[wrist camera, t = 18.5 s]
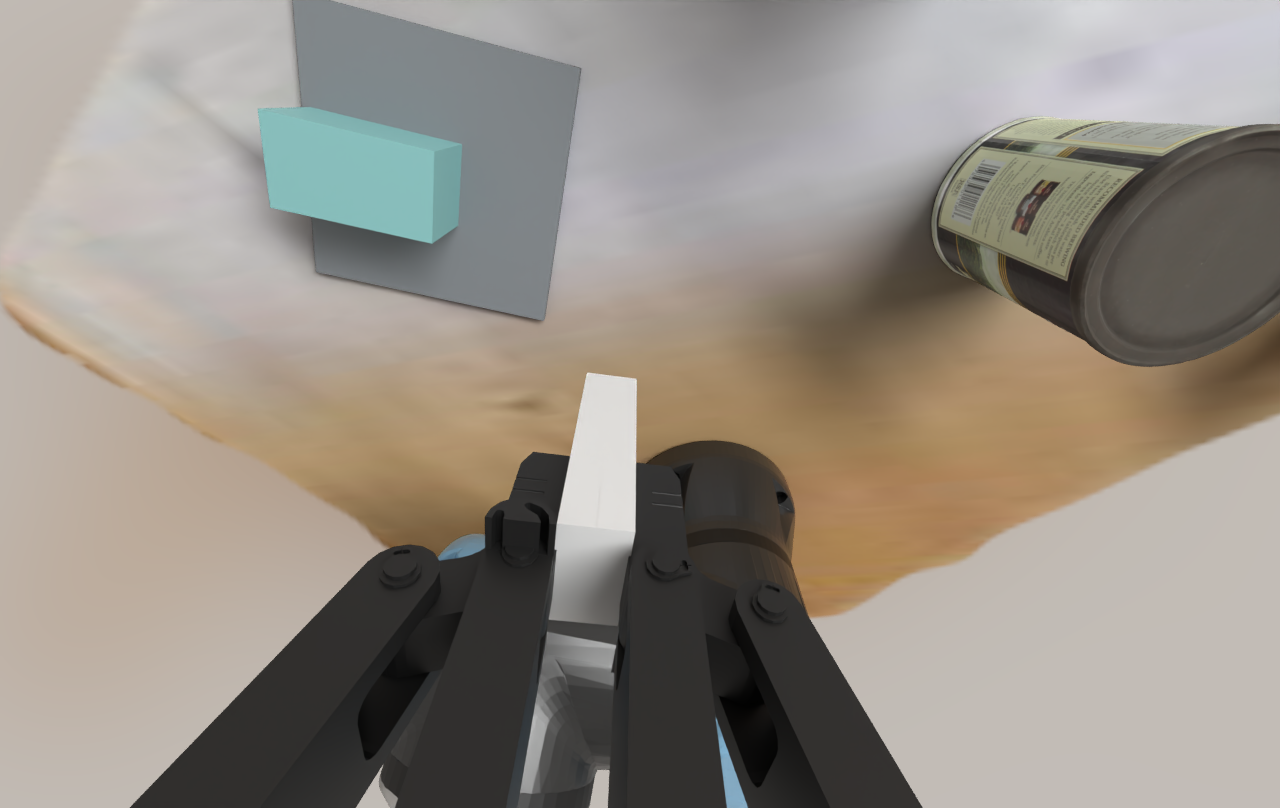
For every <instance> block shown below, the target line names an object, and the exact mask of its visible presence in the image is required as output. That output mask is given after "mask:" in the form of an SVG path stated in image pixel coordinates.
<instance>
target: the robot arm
mask: <svg viewBox="0 0 1280 808" xmlns="http://www.w3.org/2000/svg"><path fill="white" fill-rule="evenodd" d="M636 398H637V379H633V378H625V377H617V376H610V375H602V374H594V373H587V376H586V381H585V386H584V391H583V395H582V400H581V405H580V410H579V415H578V420H577V425H576V430H575V435H574V440H573V445H572V450H571V455H570V456H563V455H555V454H546V453H538V452H533V453H532V454H531V455H529V456H528V457H527V458H526V459H525V460H524V461H523V462H522V463H521V465H520V468H519V471H518V474H517V477H516V480H515V483H514V486H513V490H512V492H511V495H510V498H509V500H506V501H502V502H500V503H498V504H497V505H495V506H494V507H492V508H491V509H490V510H489V512H488V513H487V515H486V516H485V534H469V535H465V536H462V537H460V538H458V539H456V540H455V541H453V542H452V543H451V544H449V545H448V546H447V547H446V548H445V549H444V550H443V551H442V553H441V554H440V555H439V556H438V557H436V555H435V554H434V552H432V551H430V550H428V549H426V548H425V547H422V546H415V545H403V546H396V547H392V548H390V549H387V550H385V551H383V552H380V553H379V554H377V555H376V556H375V557H373V558H372V559H371V560H370V561H368V562H367V563H366V564H365V565H364V566H363V567H362V568H361V569H360V570H359V571H358V572H357V573H356V574H355V575H354V576H353V578H352V579H351V580H350V581H349V582H348V583H347V584H346V585H345V586H344V587H343V588H342V589H341V590H340V591H339V592H338V593H337V594H336V595H335V596H334V597H333V598H332V599H331V600H330V601H329V602H328V603H327V604H326V605H325V607H323V608H322V610H321V611H320V612H319V613H318V614H317V615H316V616H315V617H314V618H313V619H312V620H311V621H310V622H309V623H308V624H307V625H306V626H305V627H304V628H303V629H302V630H301V631H300V632H299V633H298V634H297V636H295V637H294V639H292V641H291V642H290V643H289V644H288V645H287V646H286V647H285V648H284V649H283V650H282V651H281V652H280V653H279V654H278V655H277V656H276V657H275V658H274V659H273V660H272V661H271V662H270V663H269V664H268V665H267V666H266V667H265V668H264V670H263V671H262V672H261V673H260V674H259V675H258V676H257V677H256V678H255V679H254V680H253V681H252V682H251V683H250V684H249V685H248V686H247V687H246V688H245V689H244V690H243V691H242V692H241V693H240V694H239V695H238V696H237V697H236V698H235V700H233V701H232V702H231V704H230V705H229V706H228V707H227V708H226V709H225V710H224V711H223V712H222V713H221V714H220V715H219V716H218V717H217V718H216V719H215V720H214V721H213V722H212V723H211V724H210V725H209V726H208V727H207V728H206V729H205V730H204V731H203V733H201V735H200V736H199V737H198V738H197V739H196V740H195V741H194V742H193V743H192V744H191V745H190V746H189V747H188V748H187V749H186V750H185V751H184V752H183V753H182V754H181V755H180V756H179V757H178V758H177V759H176V760H175V761H174V763H172V764H171V766H170V767H169V768H168V769H167V770H166V771H165V772H164V773H163V774H162V775H161V776H160V777H159V778H158V779H157V780H156V781H155V782H154V783H153V784H152V785H151V786H150V787H149V789H147V790H146V791H145V792H144V794H143V795H141V796H140V798H139V799H138V800H137V801H136V802H135V803H134V804H133V805H132V806H131V807H130V808H356V806H357V805H358V803H359V802H360V800H361V798H362V797H363V795H364V794H365V792H366V790H367V789H368V787H369V786H370V784H371V783H372V781H373V779H374V778H375V776H376V775H377V773H378V771H379V770H380V768H381V767H382V765H383V768H382V771H381V774H380V778H379V787H380V790H381V792H382V794H383V796H384V797H385V799H386V801H387V803H388V805H389V807H390V808H589V806H590V800H591V794H592V789H593V783H594V778H595V774H596V772H597V770H610V775H609V796H608V808H922V806H921V804H920V803H919V801H918V799H917V798H916V796H915V794H914V793H913V791H912V789H911V788H910V786H909V784H908V783H907V781H906V779H905V778H904V776H903V774H902V773H901V771H900V769H899V768H898V766H897V764H896V762H895V761H894V759H893V757H892V756H891V754H890V753H889V751H888V749H887V747H886V746H885V744H884V742H883V741H882V739H881V737H880V736H879V734H878V732H877V731H876V729H875V727H874V726H873V724H872V723H871V721H870V719H869V717H868V716H867V714H866V712H865V711H864V709H863V707H862V706H861V704H860V702H859V701H858V699H857V697H856V696H855V694H854V692H853V691H852V689H851V687H850V686H849V684H848V682H847V680H846V679H845V677H844V676H843V674H842V672H841V670H840V669H839V667H838V665H837V664H836V662H835V660H834V659H833V657H832V655H831V654H830V652H829V650H828V649H827V647H826V645H825V644H824V642H823V640H822V639H821V637H820V635H819V634H818V632H817V631H816V629H815V627H814V625H813V624H812V622H811V620H810V619H809V616H808V613H807V610H806V607H805V604H804V601H803V598H802V595H801V591H800V588H799V585H798V582H797V579H796V577H795V573H794V570H793V567H792V564H791V558H792V547H793V537H794V526H795V508H794V502H793V499H792V496H791V493H790V490H789V488H788V485H787V482H786V480H785V478H784V476H783V474H782V473H781V471H780V470H779V469H778V467H777V466H776V465H775V464H774V463H773V462H772V461H771V460H769V459H768V458H767V457H766V456H764V455H763V454H761V453H759V452H757V451H756V450H753V449H751V448H749V447H746V446H743V445H740V444H736V443H731V442H724V441H700V442H693V443H688V444H684V445H681V446H678V447H675V448H672V449H670V450H667V451H665V452H663V453H661V454H660V455H658V456H656V457H655V458H653V459H652V460H651V461H649V462H648V463H647V464H643V463H636Z"/></svg>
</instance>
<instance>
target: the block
mask: <svg viewBox="0 0 1280 808" xmlns="http://www.w3.org/2000/svg"><path fill="white" fill-rule="evenodd" d="M258 115H259V123H260V131H261V139H262V146H263V154H264V162H265V170H266V178H267V186H268V194H269V202H270V208H274V209H279V210H283V211H288V212H292V213H297V214H301V215H306V216H310V217H315V218H319V219H324V220H328V221H333V222H337V223H342V224H346V225H350V226H355V227H359V228H364V229H368V230H373V231H377V232H382V233H386V234H391V235H395V236H400V237H404V238H409V239H413V240H418V241H422V242H427V243H431V244H432V243H434V242H435V241H437V240H438V239H440V238H441V237H442V236H444V235H445V234H447V233H448V232H450V231H451V230H453V229H454V228H455V227H457V226H458V220H459V199H460V178H461V158H462V144H459V143H455V142H451V141H447V140H443V139H439V138H435V137H431V136H427V135H423V134H419V133H415V132H410V131H406V130H402V129H398V128H394V127H390V126H386V125H382V124H378V123H374V122H370V121H366V120H361V119H357V118H353V117H349V116H345V115H341V114H337V113H333V112H329V111H325V110H321V109H317V108H312V107H296V108H263V109H258Z"/></svg>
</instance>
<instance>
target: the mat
mask: <svg viewBox="0 0 1280 808" xmlns="http://www.w3.org/2000/svg"><path fill="white" fill-rule="evenodd" d="M292 1H293V12H294V24H295V35H296V47H297V58H298V70H299V81H300V93H301V104H302V107H312V108H317V109H321V110H325V111H329V112H333V113H337V114H341V115H345V116H349V117H353V118H357V119H361V120H366V121H370V122H374V123H378V124H382V125H386V126H390V127H394V128H398V129H402V130H406V131H410V132H415V133H419V134H423V135H427V136H431V137H435V138H439V139H443V140H447V141H451V142H455V143H459V144H462V158H461V178H460V199H459V220H458V226H457V227H455V228H454V229H453V230H451V231H450V232H448V233H447V234H445V235H444V236H442V237H441V238H440V239H438V240H437V241H435V242H434V243H432V244H431V243H427V242H422V241H418V240H413V239H409V238H404V237H400V236H395V235H391V234H386V233H382V232H377V231H373V230H368V229H364V228H359V227H355V226H350V225H346V224H342V223H337V222H333V221H328V220H324V219H319V218H315V217H311V219H312V231H313V242H314V254H315V265H316V272H319V273H323V274H328V275H332V276H337V277H342V278H346V279H351V280H356V281H360V282H365V283H370V284H374V285H379V286H384V287H388V288H393V289H398V290H402V291H407V292H412V293H416V294H421V295H426V296H430V297H435V298H440V299H444V300H449V301H454V302H458V303H463V304H468V305H472V306H477V307H482V308H486V309H491V310H496V311H500V312H505V313H509V314H514V315H519V316H523V317H528V318H533V319H537V320H542V321H544V319H545V314H546V307H547V300H548V294H549V287H550V280H551V273H552V266H553V259H554V252H555V245H556V239H557V232H558V225H559V218H560V211H561V204H562V197H563V191H564V184H565V177H566V170H567V163H568V156H569V149H570V142H571V136H572V129H573V122H574V115H575V108H576V101H577V94H578V87H579V81H580V74H581V68H579V67H575V66H571V65H567V64H564V63H560V62H556V61H553V60H549V59H545V58H542V57H538V56H534V55H530V54H527V53H523V52H519V51H516V50H512V49H508V48H505V47H501V46H497V45H494V44H490V43H486V42H482V41H479V40H475V39H471V38H468V37H464V36H460V35H457V34H453V33H449V32H445V31H442V30H438V29H434V28H431V27H427V26H423V25H420V24H416V23H412V22H408V21H405V20H401V19H397V18H394V17H390V16H386V15H383V14H379V13H375V12H372V11H368V10H364V9H360V8H357V7H353V6H349V5H346V4H342V3H338V2H335V1H331V0H292Z"/></svg>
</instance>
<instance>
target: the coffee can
mask: <svg viewBox="0 0 1280 808" xmlns="http://www.w3.org/2000/svg"><path fill="white" fill-rule="evenodd" d="M931 228H932V238H933V242H934V246H935V249H936V251H937V253H938V255H939V256H940V258H941V259H942V261H943V262H944V263H945V264H946V265H947V266H948V267H949V268H950V269H951V270H953V271H954V272H956V273H958V274H960V275H962V276H965V277H967V278H970V279H972V280H974V281H976V282H977V283H979V284H981V285H983V286H985V287H986V288H988V289H990V290H992V291H994V292H996V293H998V294H1000V295H1002V296H1004V297H1006V298H1007V299H1009V300H1011V301H1013V302H1015V303H1017V304H1019V305H1020V306H1022V307H1024V308H1026V309H1028V310H1030V311H1031V312H1033V313H1035V314H1037V315H1039V316H1040V317H1042V318H1044V319H1046V320H1047V321H1049V322H1051V323H1053V324H1054V325H1057V326H1058V327H1060V328H1062V329H1064V330H1066V331H1068V332H1070V333H1072V334H1074V335H1075V336H1077V337H1079V338H1081V339H1083V340H1085V341H1086V342H1087V343H1088V344H1089V345H1090V346H1091V347H1093V348H1094V349H1095V350H1097V351H1098V352H1100V353H1101V354H1103V355H1105V356H1107V357H1108V358H1111V359H1113V360H1115V361H1117V362H1120V363H1124V364H1128V365H1133V366H1144V367H1152V366H1165V365H1172V364H1178V363H1182V362H1185V361H1190V360H1194V359H1197V358H1200V357H1203V356H1206V355H1208V354H1211V353H1214V352H1216V351H1218V350H1221V349H1223V348H1225V347H1227V346H1229V345H1231V344H1233V343H1235V342H1237V341H1238V340H1240V339H1242V338H1243V337H1245V336H1247V335H1248V334H1250V333H1252V332H1253V331H1255V330H1256V329H1258V328H1259V327H1261V326H1262V325H1264V324H1265V323H1267V322H1268V321H1269V320H1270V319H1272V318H1273V317H1274V316H1275V315H1277V314H1278V313H1279V312H1280V124H1257V125H1248V126H1242V127H1241V126H1215V125H1189V124H1165V123H1143V122H1125V121H1095V120H1072V119H1058V118H1054V117H1040V116H1039V117H1030V118H1022V119H1018V120H1016V121H1013V122H1011V123H1008V124H1005V125H1003V126H1001V127H999V128H997V129H995V130H993V131H991V132H990V133H988V134H986V135H985V136H984V137H982V138H981V139H979V140H978V141H977V142H976V143H974V144H973V145H972V146H971V147H970V148H969V149H968V150H967V151H966V152H965V153H964V154H963V155H962V156H961V157H960V158H959V159H958V160H957V162H956V163H955V164H954V166H953V167H952V169H951V170H950V172H949V173H948V175H947V176H946V178H945V180H944V181H943V183H942V185H941V187H940V190H939V192H938V194H937V197H936V200H935V204H934V208H933V213H932V220H931Z"/></svg>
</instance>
